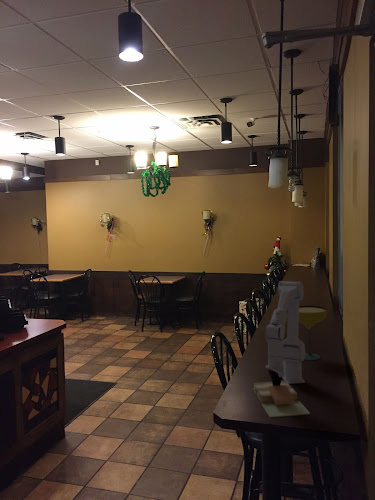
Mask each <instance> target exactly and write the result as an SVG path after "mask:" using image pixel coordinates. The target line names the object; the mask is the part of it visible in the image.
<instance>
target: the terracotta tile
mask: <svg viewBox="0 0 375 500" xmlns="http://www.w3.org/2000/svg"><path fill="white" fill-rule="evenodd" d="M269 392H270V394H271V396H272V398H273V400H274V402H275V404H276V405H278V404H291V403H294V398H293V396H292V394H291V392H290V391H289V389H288V387H287V386H286V385H279V386H269Z"/></svg>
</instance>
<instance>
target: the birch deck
mask: <svg viewBox="0 0 375 500" xmlns="http://www.w3.org/2000/svg"><path fill="white" fill-rule="evenodd" d="M280 385H286V386H287V387H288V389H289V391H290V392H291V394H292V396H293V398H294V401H298V393H297V391H295V390H294V388H293V387H292V386H291V384H288V383H287V382H286V381H285V380H281V384H280ZM269 386H273V385H272V381H261V382H253V383H252V391H253V390H254V391H253V392H254V394H255V395H256V396H257V398H258V400H259V402H260V404H264V403H275V402H274V400H273V398H272V396H271V394H270V392H269Z"/></svg>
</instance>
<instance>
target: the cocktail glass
mask: <svg viewBox="0 0 375 500" xmlns="http://www.w3.org/2000/svg"><path fill="white" fill-rule="evenodd" d="M327 316H328V311H327V308H326V307H323V306H322V307H321V306H318V305H317V306H316V305H299V323H300V324H302V325H303V326H305V328H306V329H307V330H308V331H307V333H308V334H307V336H308V350H307V353H306V352H305V359H304V360H303V361H319V360H320V359H321V356H320V355H319V354H315V353H312V352H311V351H312V350H311V338H310V333H311V332H310V331H311V330H310V329H311V328H312V327H313V326H315V325H316V324H319V323H321V322H322V321H324V320H325V319H327Z"/></svg>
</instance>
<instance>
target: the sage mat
mask: <svg viewBox="0 0 375 500" xmlns="http://www.w3.org/2000/svg"><path fill="white" fill-rule="evenodd" d="M260 404H261V406H262V408H263V409H264V410H265V412H266V414H267V415H268V417H269V418H270V419H271V418H280V417H281V418H282V417H283V418H284V417H293V416H304V415H311V412H310V411H309V410H308V409H307V408H306V407H305V405H304V404H303V402H301V401H300V400H297V401H294V403H291V404H278V405H276V404H275V403H264V404H262V403H260Z"/></svg>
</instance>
